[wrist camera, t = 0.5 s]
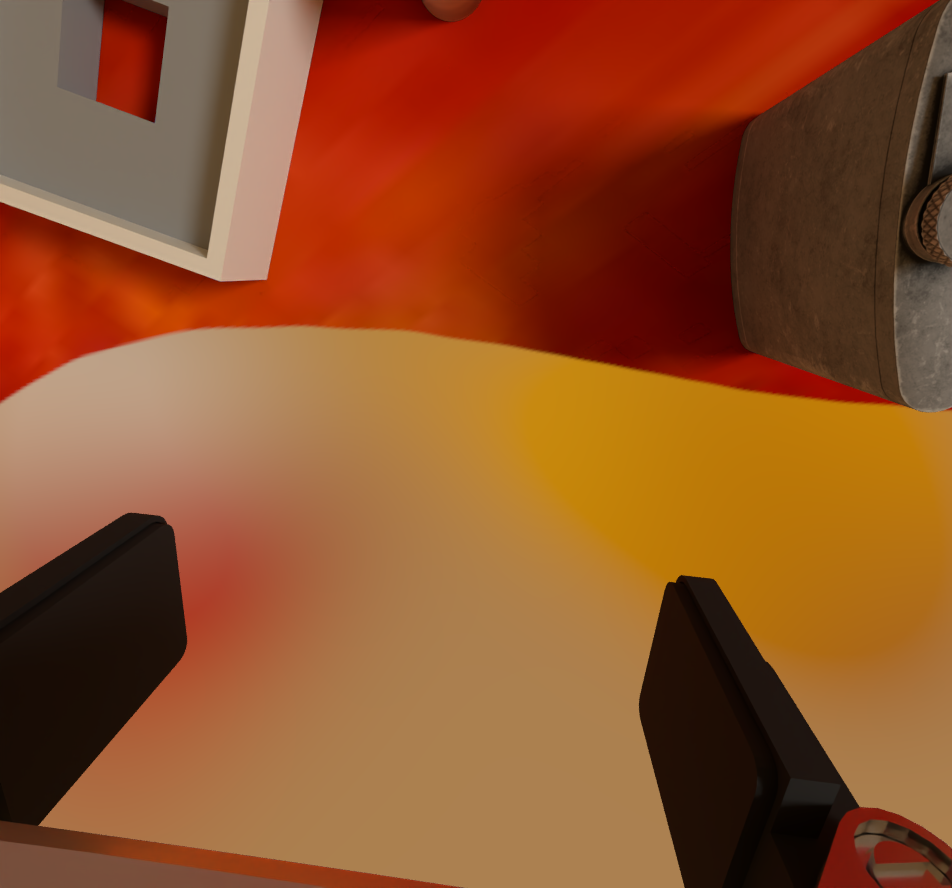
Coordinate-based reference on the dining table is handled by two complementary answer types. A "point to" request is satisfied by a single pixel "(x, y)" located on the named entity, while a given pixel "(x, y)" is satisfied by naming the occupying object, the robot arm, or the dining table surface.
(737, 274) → the flask
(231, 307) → the dining table surface
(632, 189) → the dining table surface
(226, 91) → the open top box
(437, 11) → the peg
